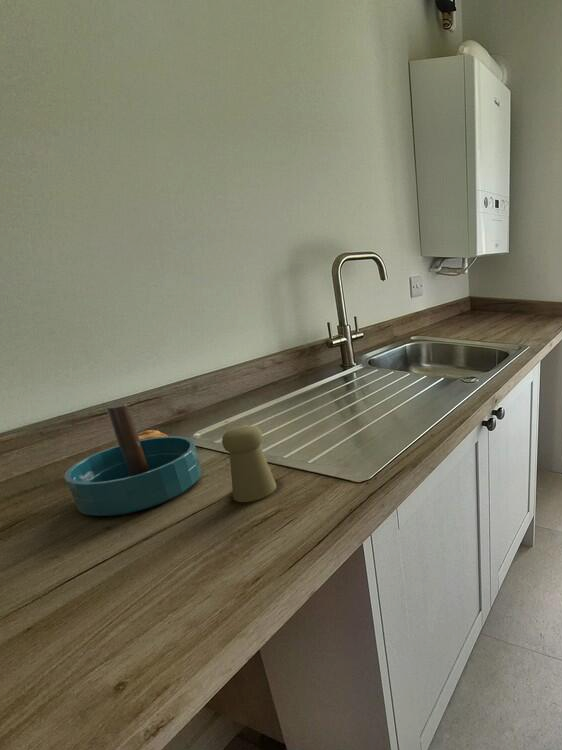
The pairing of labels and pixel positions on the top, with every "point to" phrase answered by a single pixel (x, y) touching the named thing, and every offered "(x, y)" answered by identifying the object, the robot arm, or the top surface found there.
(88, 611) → the top surface
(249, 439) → the cork
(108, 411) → the stirring stick
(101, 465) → the bowl
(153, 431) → the pastry
